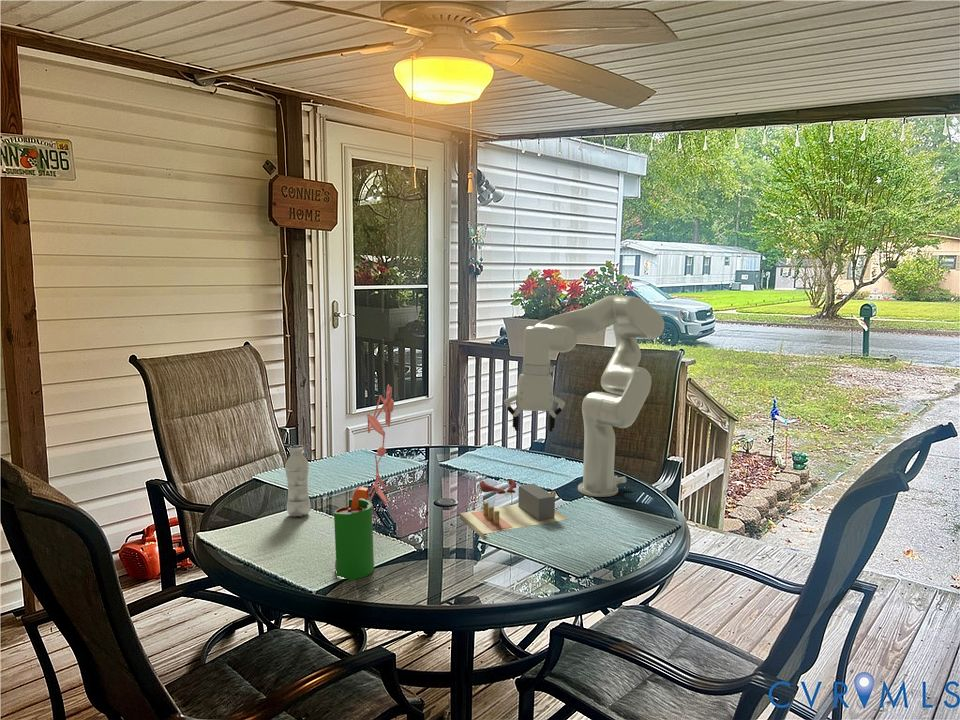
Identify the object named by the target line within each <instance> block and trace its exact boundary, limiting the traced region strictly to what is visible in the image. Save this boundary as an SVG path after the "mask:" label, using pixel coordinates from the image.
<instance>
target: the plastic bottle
mask: <svg viewBox="0 0 960 720" xmlns="http://www.w3.org/2000/svg"><path fill="white" fill-rule="evenodd" d="M304 453H305V450H304V445H299V444H297V445H291V446H289V457H288V459H286V462H285V464H284V469H285V475H286V481H287V482H286V483H287V501H286V511H287V514H288V516H290V515H291V516H290V517H292V516H301V517H303V516H302V515H305V516H307V515H308V514H309V513H310V512H311V506H312V504H311V499H310V495H309V488H308V487H309V483H308V482H309V481H308V479H309V467H310V463H309V461H308V459H307V458H306V457H305V456H304ZM306 514H307V515H306Z"/></svg>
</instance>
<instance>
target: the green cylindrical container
mask: <svg viewBox="0 0 960 720" xmlns="http://www.w3.org/2000/svg"><path fill="white" fill-rule="evenodd" d="M369 492H370V491H369V487H365V486H364V487H363V486H359V487H357V489H356V490H355V491H354V492H353V495H352V497H351V498H348V506H342V507H339V508H337V509H335V511H334V512H333V520H334V540H335V545H334V546H335V547H334V548H335V561H334V568H335V569H336V571H337V574H336V577H337V576H341V577H344V578H347V579H350V580H349V581H352V580H359V579H362V578H365V577H368V576H369V575H371V574H372V573H374V569H375V559H374V555H375V553H374V536H373V535H374V531H373V503H372V502H371V501H369V498H370V496H369V495H370V494H369Z"/></svg>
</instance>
